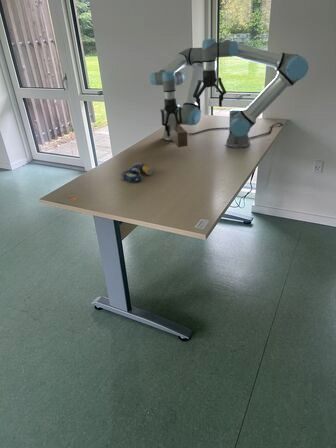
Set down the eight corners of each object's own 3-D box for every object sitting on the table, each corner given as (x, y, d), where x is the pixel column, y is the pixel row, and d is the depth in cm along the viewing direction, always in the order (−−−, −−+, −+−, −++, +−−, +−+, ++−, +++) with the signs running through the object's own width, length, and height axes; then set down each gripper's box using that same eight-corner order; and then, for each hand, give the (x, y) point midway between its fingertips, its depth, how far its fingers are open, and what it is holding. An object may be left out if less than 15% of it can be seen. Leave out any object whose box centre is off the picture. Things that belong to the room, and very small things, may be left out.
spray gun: (158, 169, 197) (136, 167, 203) (157, 162, 194) (135, 160, 201) (140, 184, 181) (118, 182, 188) (139, 177, 179) (116, 175, 185)
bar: (167, 134, 223) (166, 121, 219) (175, 133, 224) (174, 120, 220) (178, 147, 200) (177, 133, 195) (187, 145, 201) (186, 131, 196)
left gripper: (156, 101, 203) (160, 138, 215) (186, 97, 206) (188, 134, 219) (154, 99, 210) (157, 135, 222) (182, 95, 213) (184, 131, 225)
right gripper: (190, 72, 186) (192, 111, 197) (232, 67, 190) (231, 106, 201) (186, 71, 192) (188, 109, 203) (227, 66, 196) (226, 104, 207)
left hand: (172, 134), depth 220 cm, fingers closed on bar, 6 cm apart
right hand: (209, 108), depth 202 cm, fingers open, 13 cm apart
